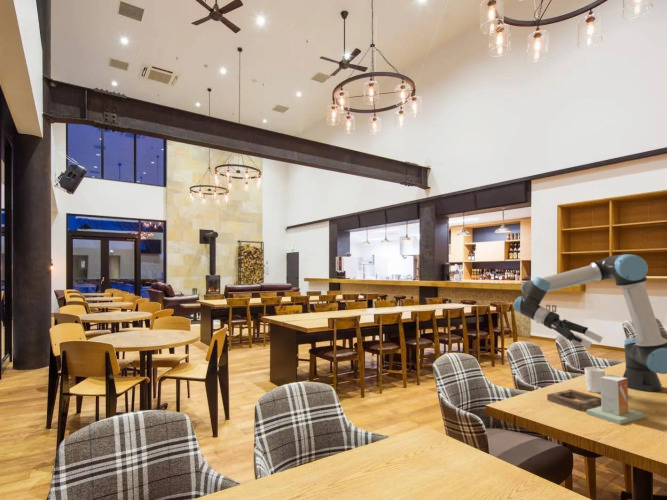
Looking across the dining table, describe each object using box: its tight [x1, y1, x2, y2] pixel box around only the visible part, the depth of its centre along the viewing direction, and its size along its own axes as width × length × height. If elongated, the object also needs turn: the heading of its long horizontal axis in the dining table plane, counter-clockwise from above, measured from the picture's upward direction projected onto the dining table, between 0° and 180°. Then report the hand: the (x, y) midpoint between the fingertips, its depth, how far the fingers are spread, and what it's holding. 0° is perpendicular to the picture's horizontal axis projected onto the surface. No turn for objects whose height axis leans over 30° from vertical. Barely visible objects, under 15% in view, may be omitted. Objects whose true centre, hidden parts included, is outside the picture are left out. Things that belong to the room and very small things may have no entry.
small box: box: [600, 374, 629, 415], centre depth 153 cm, size 8×6×13 cm
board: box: [585, 405, 645, 425], centre depth 152 cm, size 16×12×2 cm
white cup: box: [584, 366, 606, 394], centre depth 183 cm, size 8×8×10 cm
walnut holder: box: [546, 389, 601, 412], centre depth 168 cm, size 16×14×2 cm
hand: (596, 342), depth 167 cm, fingers open, 13 cm apart
